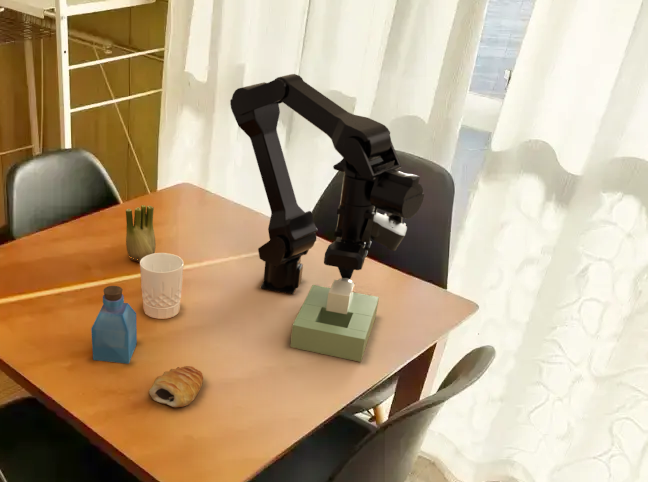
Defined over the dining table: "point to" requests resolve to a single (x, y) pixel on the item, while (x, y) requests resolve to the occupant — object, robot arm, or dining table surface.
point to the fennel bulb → (140, 233)
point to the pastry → (177, 386)
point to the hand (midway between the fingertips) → (346, 281)
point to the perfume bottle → (114, 328)
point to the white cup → (161, 284)
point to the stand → (334, 325)
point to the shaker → (340, 296)
